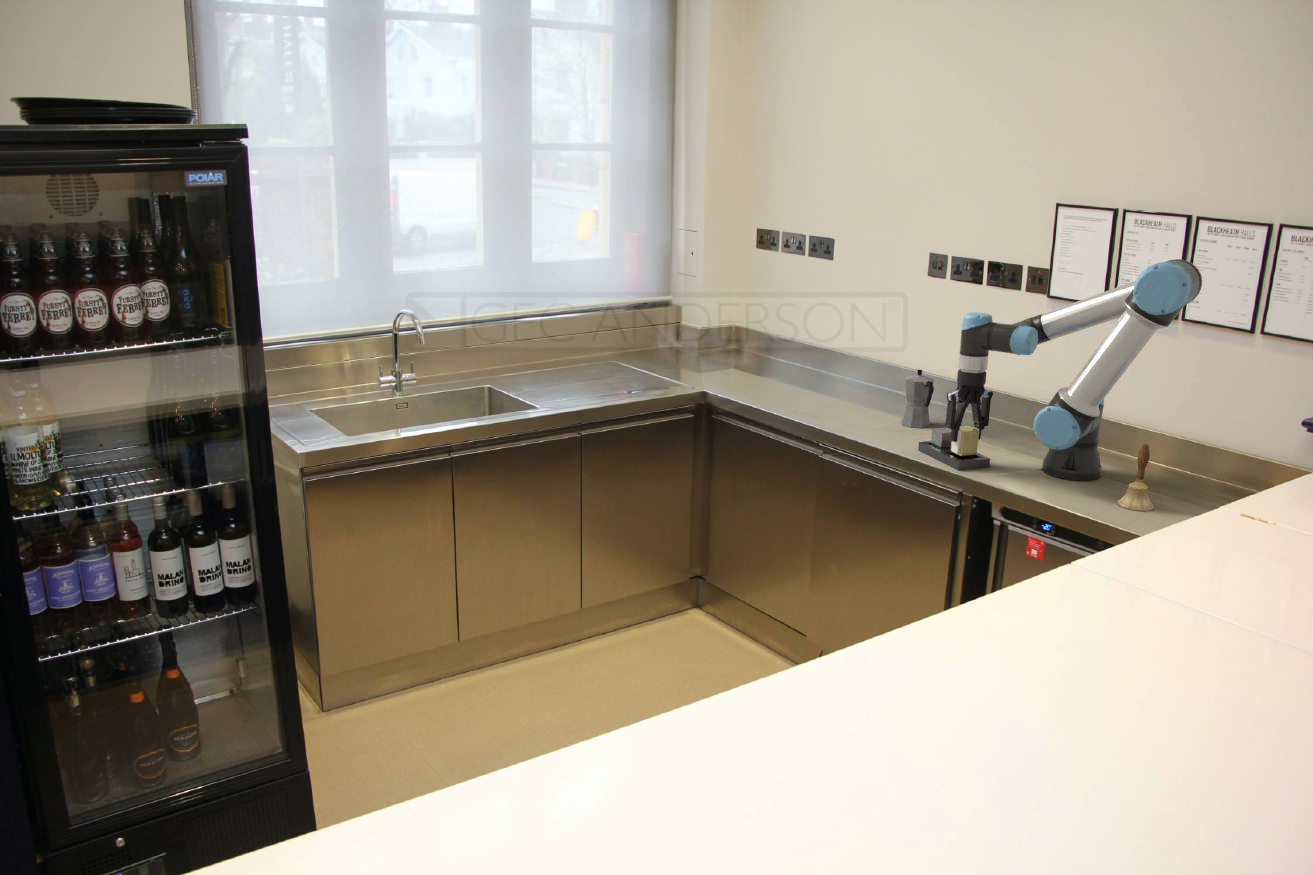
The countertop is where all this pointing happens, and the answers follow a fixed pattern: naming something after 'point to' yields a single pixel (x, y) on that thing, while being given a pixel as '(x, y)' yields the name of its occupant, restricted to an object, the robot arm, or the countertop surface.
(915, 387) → the coffeepot
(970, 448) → the yellow block
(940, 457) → the dark grey tray
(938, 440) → the grey block
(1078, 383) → the robot arm
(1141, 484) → the hand bell
